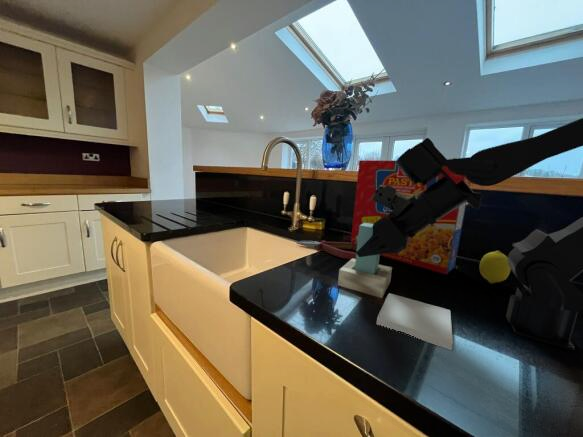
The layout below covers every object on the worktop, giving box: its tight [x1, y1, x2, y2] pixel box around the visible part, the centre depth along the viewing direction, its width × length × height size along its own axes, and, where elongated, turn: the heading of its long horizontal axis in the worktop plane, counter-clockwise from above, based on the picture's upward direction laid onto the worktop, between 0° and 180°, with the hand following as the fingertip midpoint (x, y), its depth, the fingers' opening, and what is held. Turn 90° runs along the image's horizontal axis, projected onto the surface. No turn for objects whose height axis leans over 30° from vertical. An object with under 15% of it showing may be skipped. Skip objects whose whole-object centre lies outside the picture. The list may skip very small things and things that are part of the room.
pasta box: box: [350, 159, 471, 275], centre depth 72 cm, size 28×8×28 cm, turn 44°
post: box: [355, 223, 381, 275], centre depth 52 cm, size 4×4×13 cm
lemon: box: [479, 250, 512, 284], centre depth 57 cm, size 6×6×8 cm
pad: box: [376, 292, 454, 351], centre depth 40 cm, size 10×10×1 cm
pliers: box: [296, 240, 357, 261], centre depth 76 cm, size 12×20×3 cm, turn 66°
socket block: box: [337, 258, 393, 299], centre depth 53 cm, size 9×9×4 cm
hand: (363, 249), depth 52 cm, fingers open, 9 cm apart
